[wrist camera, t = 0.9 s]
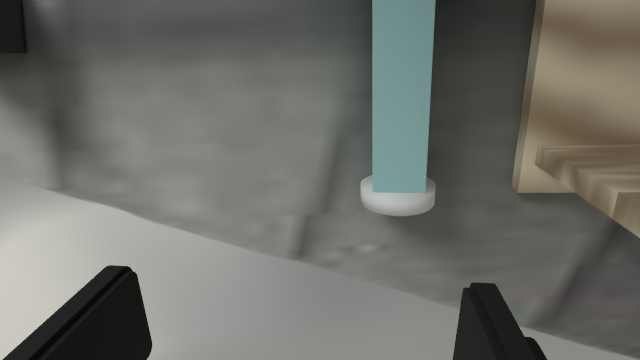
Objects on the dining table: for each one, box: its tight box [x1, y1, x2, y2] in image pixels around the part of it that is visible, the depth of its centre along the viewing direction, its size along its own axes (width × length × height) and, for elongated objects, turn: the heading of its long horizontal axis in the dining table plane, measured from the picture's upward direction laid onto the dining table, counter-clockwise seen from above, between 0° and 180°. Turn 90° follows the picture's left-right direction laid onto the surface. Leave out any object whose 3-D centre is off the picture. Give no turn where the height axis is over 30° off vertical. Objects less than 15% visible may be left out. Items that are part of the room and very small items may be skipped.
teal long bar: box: [361, 0, 436, 216], centre depth 27 cm, size 25×6×6 cm, turn 3°
